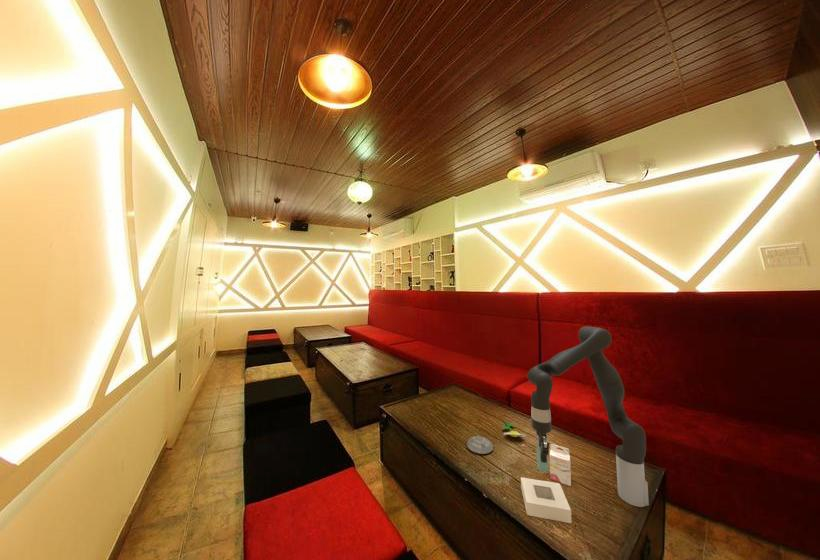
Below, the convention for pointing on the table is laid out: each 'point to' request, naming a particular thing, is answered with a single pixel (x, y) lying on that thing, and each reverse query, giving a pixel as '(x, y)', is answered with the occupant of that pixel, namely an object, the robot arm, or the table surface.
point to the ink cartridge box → (560, 464)
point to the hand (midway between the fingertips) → (542, 458)
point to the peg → (540, 465)
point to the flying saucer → (479, 445)
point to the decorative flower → (511, 433)
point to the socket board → (545, 500)
